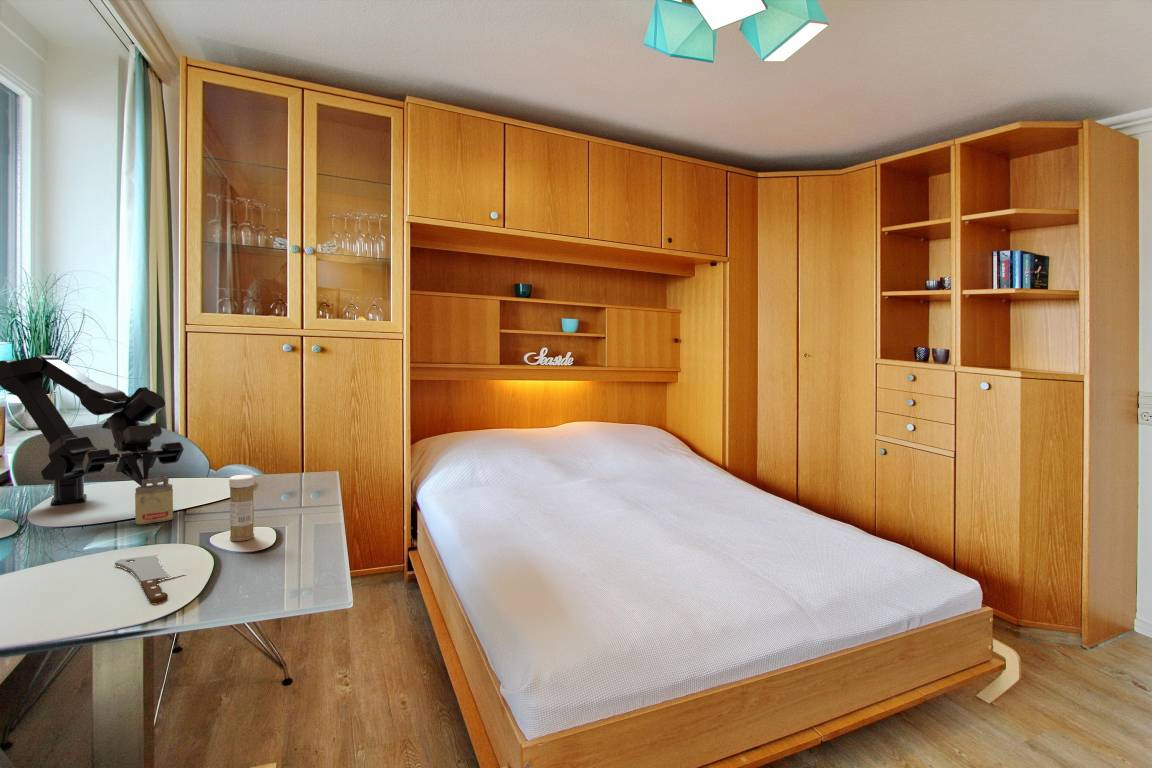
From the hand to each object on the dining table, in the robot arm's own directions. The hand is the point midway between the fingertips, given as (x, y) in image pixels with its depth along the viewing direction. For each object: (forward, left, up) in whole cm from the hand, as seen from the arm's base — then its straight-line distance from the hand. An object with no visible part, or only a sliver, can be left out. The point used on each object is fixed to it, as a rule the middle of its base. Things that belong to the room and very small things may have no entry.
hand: (144, 485), depth 135 cm
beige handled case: (+6, +2, -7) cm, 10 cm away
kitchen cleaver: (+43, +1, -8) cm, 44 cm away
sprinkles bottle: (+29, +16, -7) cm, 34 cm away
